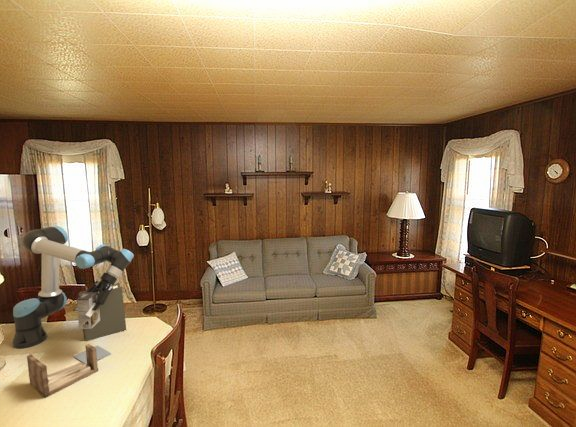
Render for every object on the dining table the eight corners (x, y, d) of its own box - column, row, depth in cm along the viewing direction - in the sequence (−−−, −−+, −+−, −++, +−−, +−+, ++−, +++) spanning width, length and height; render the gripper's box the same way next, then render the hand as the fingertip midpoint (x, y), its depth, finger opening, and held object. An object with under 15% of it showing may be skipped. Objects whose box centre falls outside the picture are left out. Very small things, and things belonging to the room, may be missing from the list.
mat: (73, 357, 164) (73, 355, 164) (97, 346, 174) (97, 345, 174) (87, 365, 157) (86, 364, 157) (111, 354, 167) (111, 353, 167)
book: (84, 342, 179) (79, 296, 175) (83, 335, 187) (78, 291, 183) (126, 330, 192) (121, 287, 188) (123, 324, 200) (119, 282, 195)
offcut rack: (30, 384, 143) (26, 356, 141) (82, 360, 161) (80, 334, 160) (45, 398, 135) (41, 367, 133) (98, 370, 153) (96, 344, 151)
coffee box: (88, 320, 168) (85, 292, 166) (100, 320, 168) (98, 291, 166) (78, 329, 159) (75, 299, 156) (91, 328, 159) (89, 298, 157)
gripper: (128, 282, 167) (99, 322, 156) (105, 275, 180) (77, 311, 168) (117, 275, 162) (87, 316, 151) (95, 268, 174) (65, 305, 163)
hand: (82, 313), depth 160 cm, fingers closed on coffee box, 10 cm apart
